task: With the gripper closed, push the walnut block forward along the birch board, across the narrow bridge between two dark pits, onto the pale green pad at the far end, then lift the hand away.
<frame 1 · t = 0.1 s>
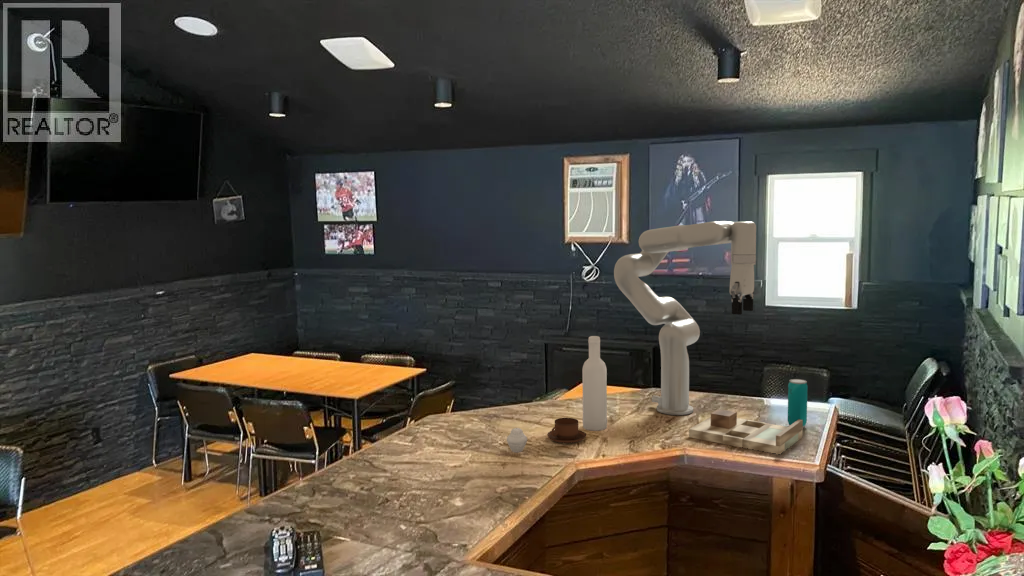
hand: (742, 312, 234), 37 cm above the bar counter, tool pointing down, fingers open, 9 cm apart
cup and saucer: (566, 441, 223), on the bar counter
grey lidded jar: (517, 451, 214), on the bar counter
beverage can: (796, 426, 232), on the bar counter
walnut block: (723, 425, 226), point 3 cm above the bar counter, touching trap board
bottle: (594, 428, 235), on the bar counter
trap board: (745, 437, 222), on the bar counter
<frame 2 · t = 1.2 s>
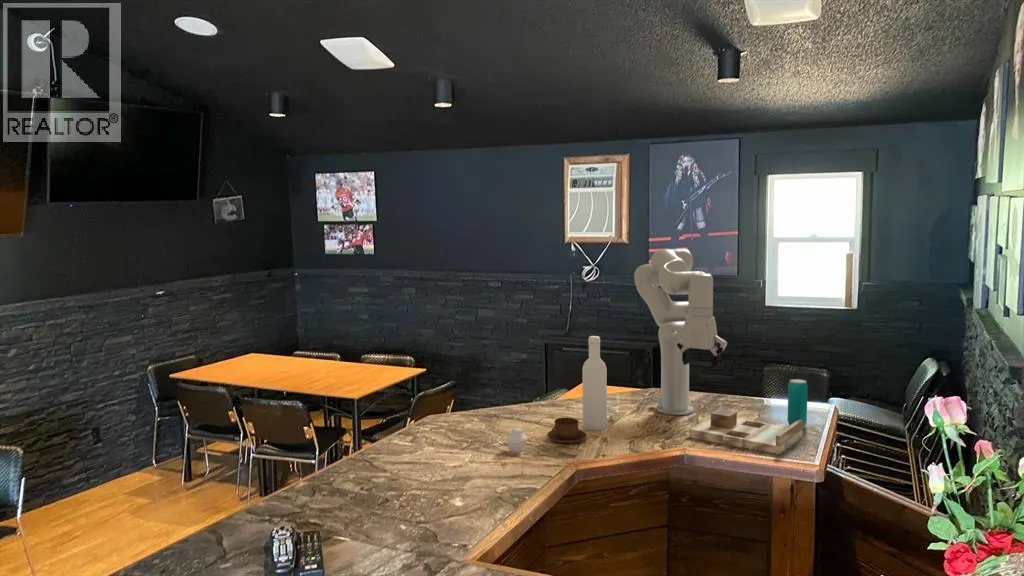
hand: (700, 365, 230), 21 cm above the bar counter, tool pointing down, fingers open, 9 cm apart
nothing on the bar counter moved.
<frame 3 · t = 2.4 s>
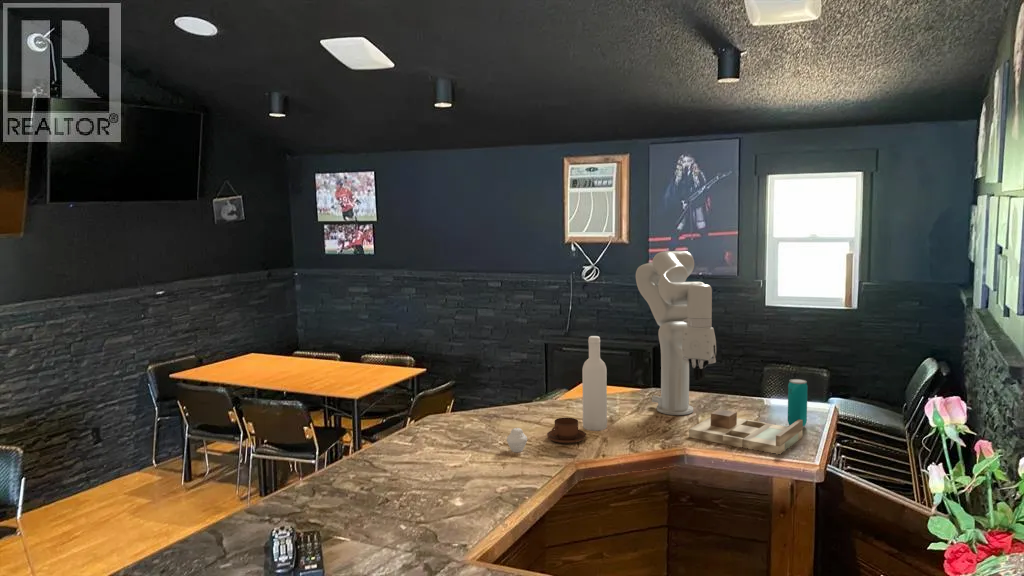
hand: (699, 379, 230), 16 cm above the bar counter, tool pointing down, fingers closed
nothing on the bar counter moved.
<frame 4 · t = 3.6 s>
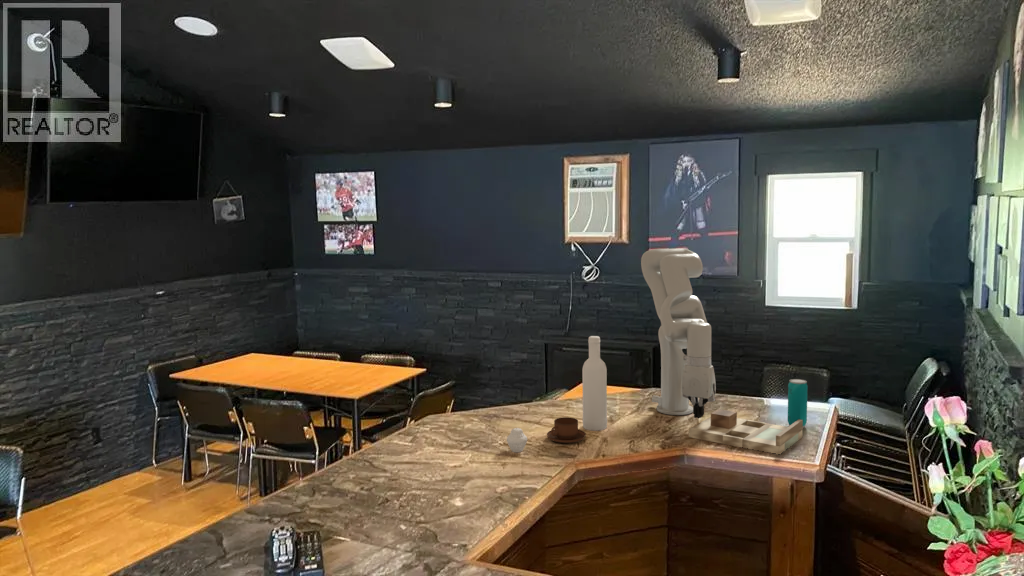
hand: (698, 417, 231), 4 cm above the bar counter, tool pointing down, fingers closed
nothing on the bar counter moved.
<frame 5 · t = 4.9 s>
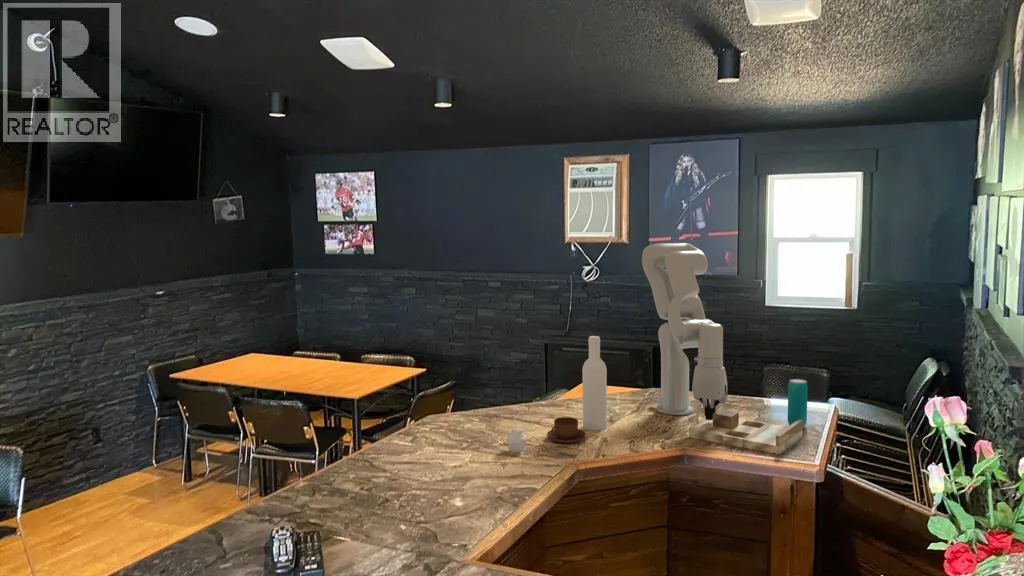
hand: (709, 418, 229), 4 cm above the bar counter, tool pointing down, fingers closed
walnut block: (725, 425, 226), point 3 cm above the bar counter, touching gripper, trap board
everything else where it was.
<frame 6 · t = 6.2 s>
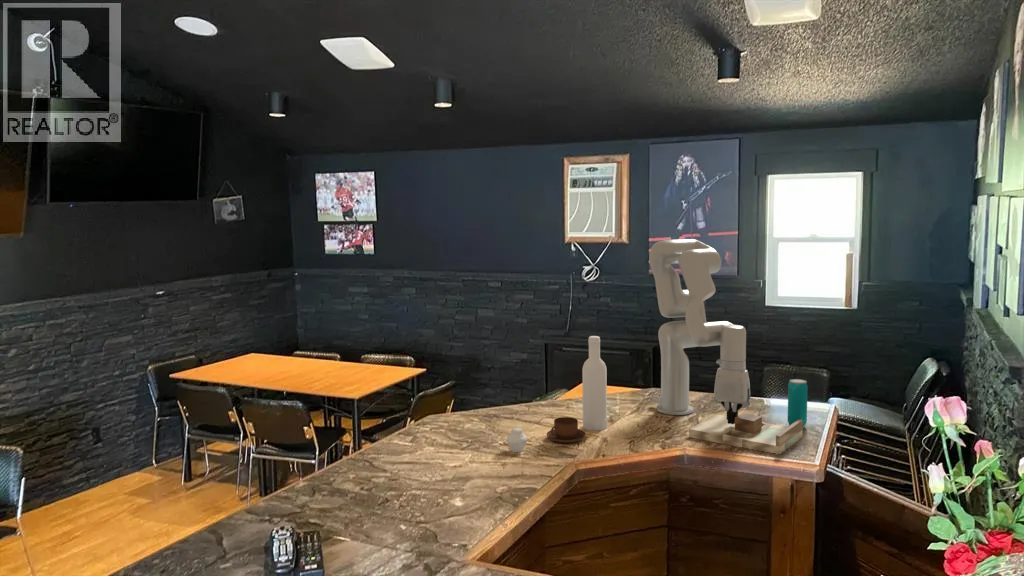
hand: (732, 422, 224), 4 cm above the bar counter, tool pointing down, fingers closed
walnut block: (748, 429, 221), point 3 cm above the bar counter, touching gripper, trap board
everything else where it was.
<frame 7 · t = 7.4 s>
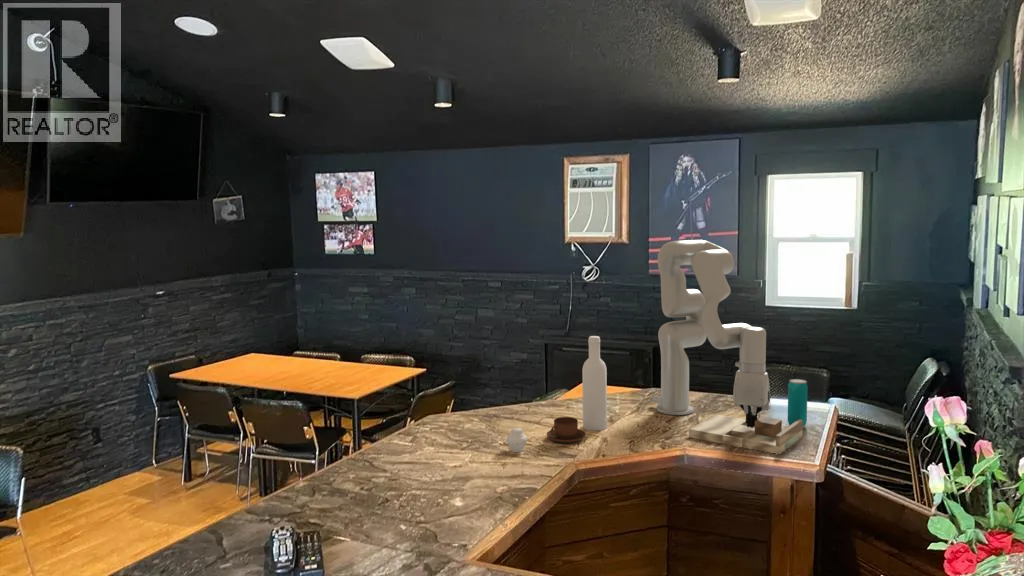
hand: (751, 426, 221), 4 cm above the bar counter, tool pointing down, fingers closed
walnut block: (767, 433, 218), point 2 cm above the bar counter, touching gripper
everything else where it was.
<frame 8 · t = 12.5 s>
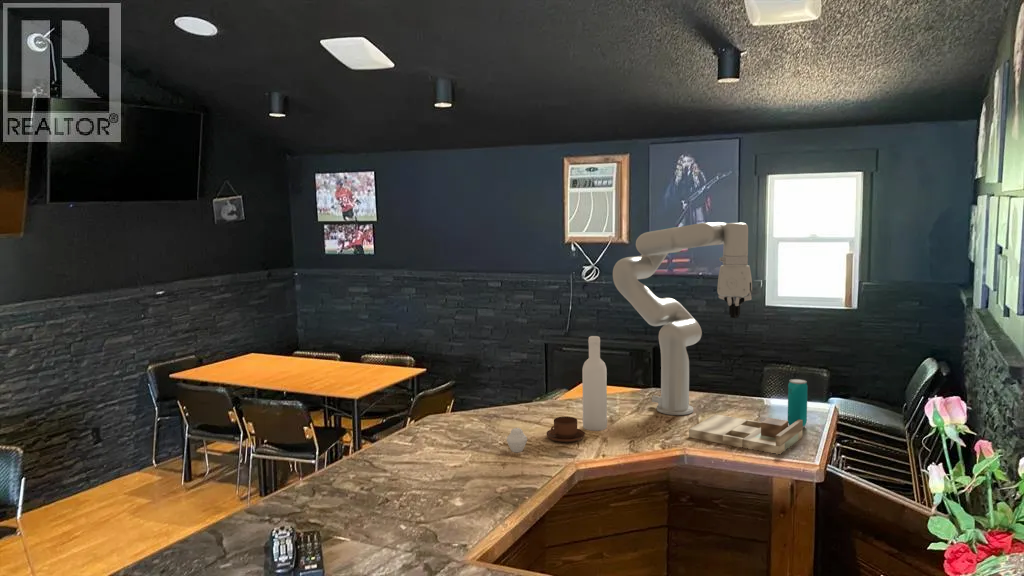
hand: (734, 317, 234), 35 cm above the bar counter, tool pointing down, fingers closed
walnut block: (774, 434, 216), point 2 cm above the bar counter, touching trap board
at the end: walnut block inside the target area on the trap board (0.2 cm from its centre), point 2.4 cm above the trap board's base; walnut block tilted 0° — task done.
